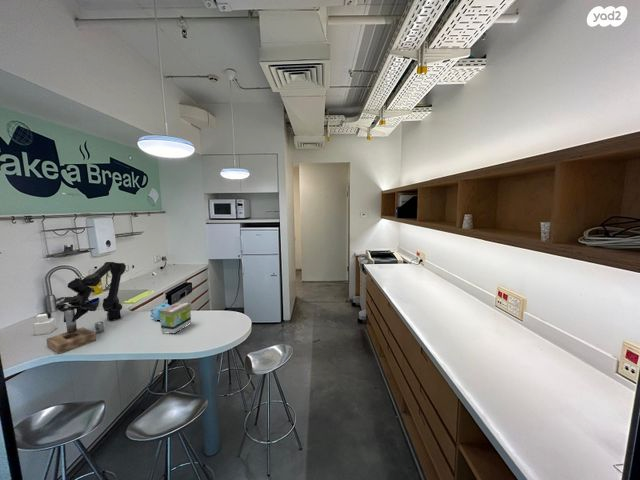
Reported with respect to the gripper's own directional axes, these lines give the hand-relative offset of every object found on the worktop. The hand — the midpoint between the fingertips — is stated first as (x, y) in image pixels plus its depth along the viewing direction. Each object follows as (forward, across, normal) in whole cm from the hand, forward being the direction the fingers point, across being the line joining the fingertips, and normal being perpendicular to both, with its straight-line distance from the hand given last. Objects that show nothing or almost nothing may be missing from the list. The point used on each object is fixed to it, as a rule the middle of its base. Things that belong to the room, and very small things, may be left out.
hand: (68, 322), depth 145 cm
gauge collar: (+9, -1, +10) cm, 14 cm away
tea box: (-2, +50, +21) cm, 55 cm away
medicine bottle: (-2, -29, +22) cm, 36 cm away
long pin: (+4, 0, +6) cm, 7 cm away
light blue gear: (-14, +35, +33) cm, 50 cm away
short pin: (0, +5, +20) cm, 20 cm away
